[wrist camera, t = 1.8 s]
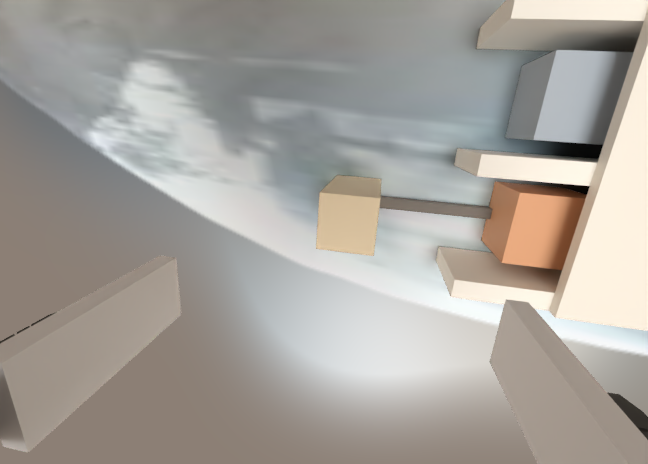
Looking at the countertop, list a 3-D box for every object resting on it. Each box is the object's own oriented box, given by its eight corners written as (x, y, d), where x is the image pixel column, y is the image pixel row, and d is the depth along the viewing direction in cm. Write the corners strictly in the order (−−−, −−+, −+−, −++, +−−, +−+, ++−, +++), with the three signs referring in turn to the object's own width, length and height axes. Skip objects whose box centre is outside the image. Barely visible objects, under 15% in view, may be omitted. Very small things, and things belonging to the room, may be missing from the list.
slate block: (521, 66, 28) (556, 49, 22) (597, 69, 27) (655, 52, 21) (504, 138, 30) (533, 139, 24) (575, 143, 29) (622, 146, 23)
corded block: (337, 167, 33) (320, 182, 24) (562, 187, 30) (645, 213, 21) (333, 223, 35) (315, 257, 25) (544, 247, 32) (612, 296, 22)
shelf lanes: (480, 27, 27) (523, -19, 19) (690, 32, 25) (846, -18, 17) (435, 260, 34) (453, 303, 26) (598, 280, 32) (675, 334, 23)
